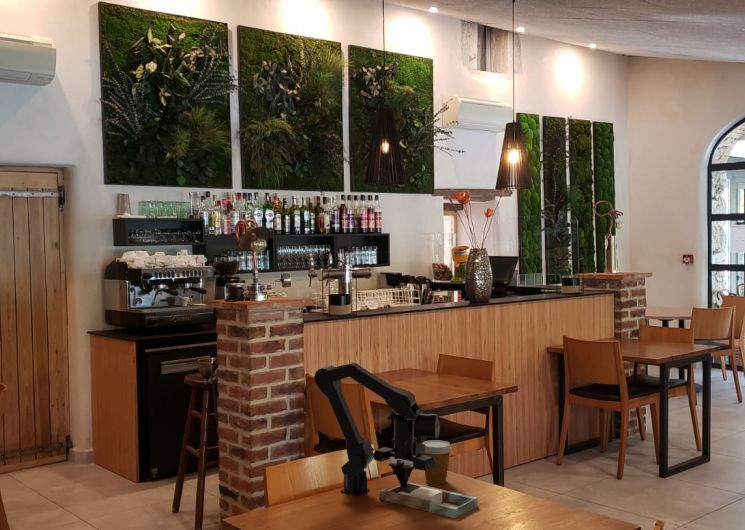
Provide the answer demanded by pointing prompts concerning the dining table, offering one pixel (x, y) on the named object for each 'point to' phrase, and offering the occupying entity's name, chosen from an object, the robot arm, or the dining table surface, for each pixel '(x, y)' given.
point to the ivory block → (428, 494)
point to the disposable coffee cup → (437, 460)
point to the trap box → (405, 498)
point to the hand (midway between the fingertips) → (403, 487)
